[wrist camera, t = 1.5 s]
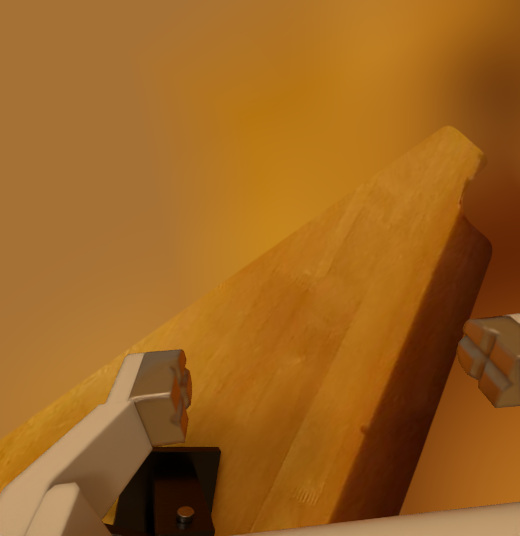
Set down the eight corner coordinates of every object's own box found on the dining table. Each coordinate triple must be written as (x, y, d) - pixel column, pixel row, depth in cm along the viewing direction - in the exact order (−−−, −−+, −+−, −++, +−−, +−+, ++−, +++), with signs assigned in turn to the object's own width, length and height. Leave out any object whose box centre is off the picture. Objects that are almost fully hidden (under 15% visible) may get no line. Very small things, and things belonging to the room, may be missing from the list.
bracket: (112, 529, 32) (97, 645, 21) (128, 446, 34) (122, 515, 23) (207, 522, 36) (236, 619, 25) (218, 446, 37) (251, 507, 26)
